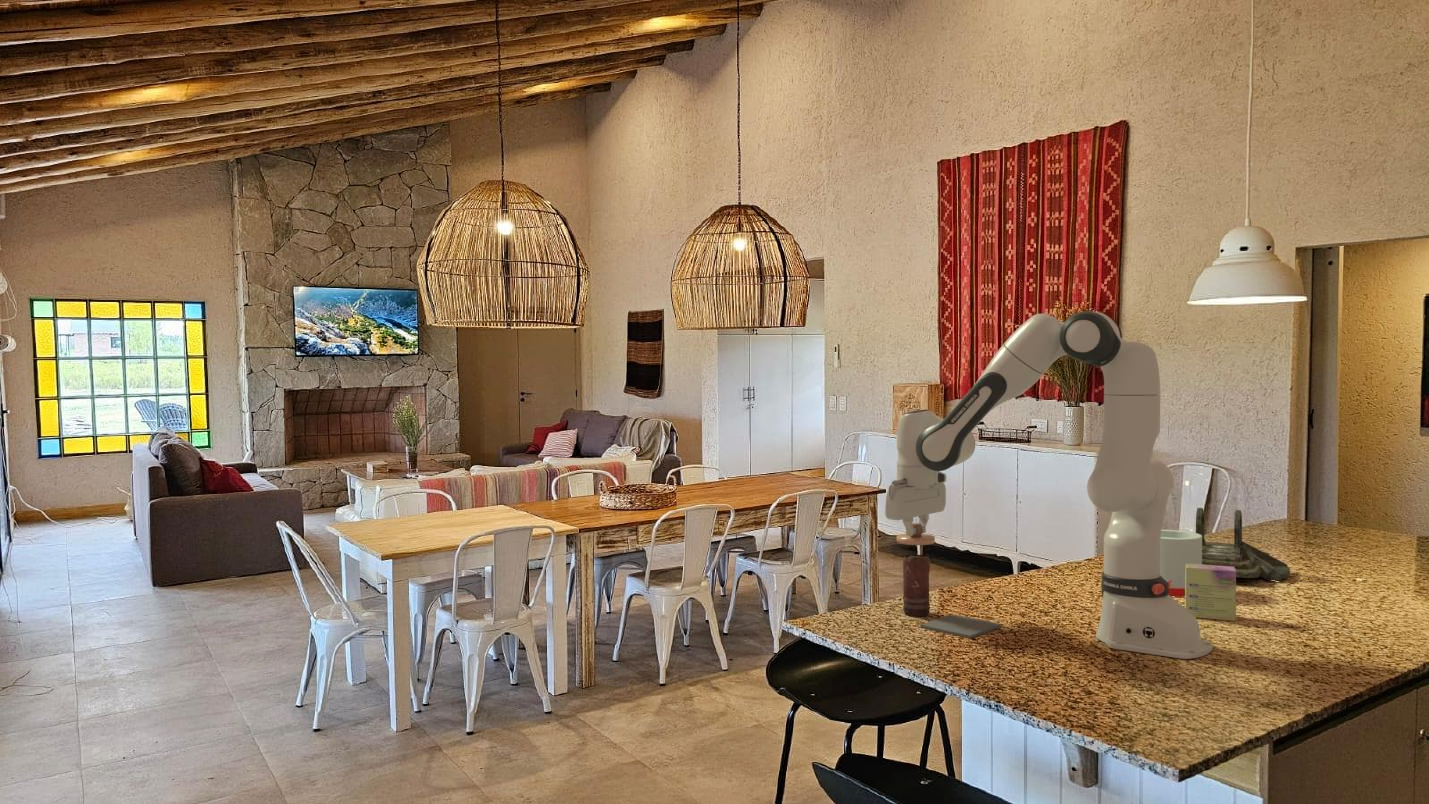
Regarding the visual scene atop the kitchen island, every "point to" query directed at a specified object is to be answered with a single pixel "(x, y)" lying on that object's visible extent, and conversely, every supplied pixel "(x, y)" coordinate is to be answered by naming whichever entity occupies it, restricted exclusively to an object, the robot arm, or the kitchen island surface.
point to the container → (1178, 557)
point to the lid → (916, 537)
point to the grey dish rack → (1240, 554)
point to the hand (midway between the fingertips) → (916, 534)
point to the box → (1210, 591)
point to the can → (916, 585)
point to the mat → (961, 626)
